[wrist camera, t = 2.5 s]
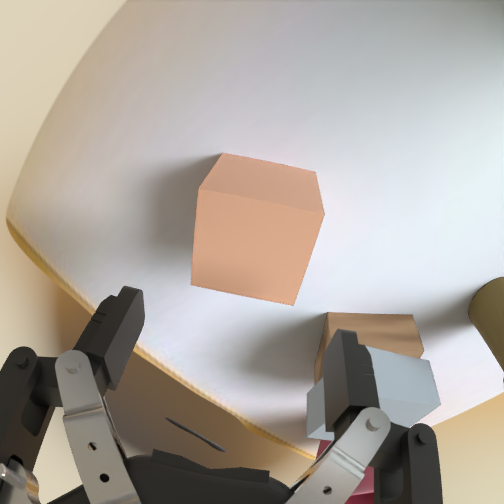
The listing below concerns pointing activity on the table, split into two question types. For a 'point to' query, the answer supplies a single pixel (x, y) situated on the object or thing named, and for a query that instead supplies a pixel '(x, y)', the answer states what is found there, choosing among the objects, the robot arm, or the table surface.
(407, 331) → the bottom block
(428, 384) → the top block
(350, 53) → the table surface
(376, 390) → the robot arm
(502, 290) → the cork
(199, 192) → the cube
